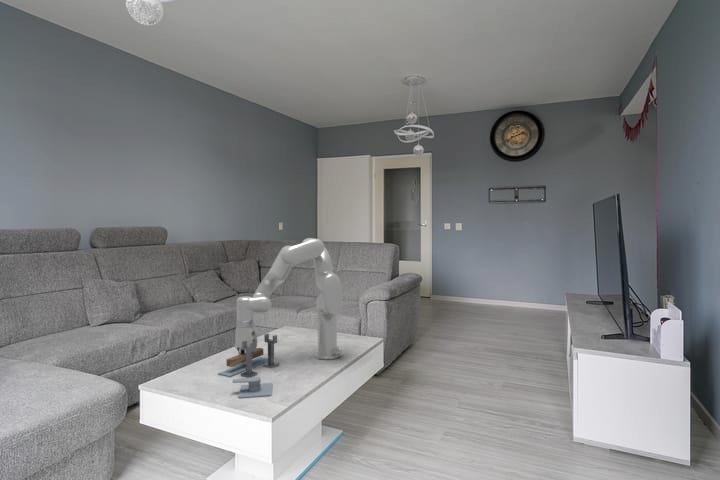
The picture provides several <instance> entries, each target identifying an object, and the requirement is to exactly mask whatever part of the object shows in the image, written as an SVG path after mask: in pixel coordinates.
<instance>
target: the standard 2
mask: <svg viewBox="0 0 720 480" xmlns="http://www.w3.org/2000/svg"><path fill="white" fill-rule="evenodd" d="M263 339H264V343H267V358H268V362H266V363H263V364H262V365H263V367H264V368H269V369H273V368H275V367H276V368H277V367H278V366H280V363H279V362H275V344H277V343H278V335H277V334H274V335H272V339H270V333H265V334H264V337H263Z"/></svg>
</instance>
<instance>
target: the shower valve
mask: <svg viewBox="0 0 720 480" xmlns="http://www.w3.org/2000/svg"><path fill="white" fill-rule="evenodd" d="M233 383H234V384H241V383H243V384H242V385H240V389H239V393H238V395H237V396H238V397H237V398H238V399H253V398H266V397H271V396H272V394H273V382H267V383H266V382H265V383H261V377H260V376H259V377H258V376H253V377H250V378H246V377H243V378H233V380H232V384H233ZM245 383H248V384H245Z"/></svg>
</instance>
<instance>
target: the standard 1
mask: <svg viewBox="0 0 720 480" xmlns="http://www.w3.org/2000/svg"><path fill="white" fill-rule="evenodd" d="M256 348H257V347H256V345H255V343H254V342H253V343H250V347H247V341H243V342H242V350H245V354H246V362H245V363H246V371H244V372H242V373H240V377H243V378H250V377H256V376H257V375H258V371H253V368H252V360H253V359H252V352H253V351H256Z"/></svg>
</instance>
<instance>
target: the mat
mask: <svg viewBox="0 0 720 480" xmlns="http://www.w3.org/2000/svg"><path fill="white" fill-rule="evenodd" d="M266 363H268V357H267V358H266V357H262V356H259V357H256V358H254V359H252V369H254V368H256V367H258V366H261V365H263V364H266ZM244 372H246V362H244V363H241V364H238V365H236V366H233V367H230V368H228V369H225V370H222V371H221V372H218V375H219V376H221V377H227V378H233V377H234V376H237V375H238V374H239V375H240V374H241V373H244Z"/></svg>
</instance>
